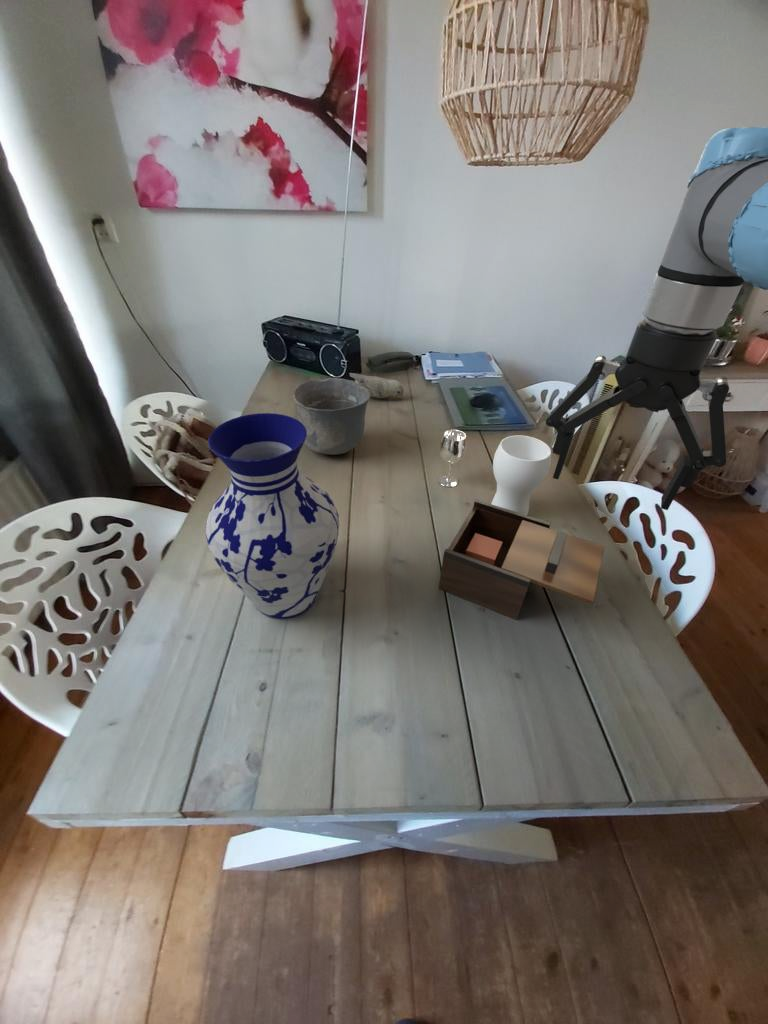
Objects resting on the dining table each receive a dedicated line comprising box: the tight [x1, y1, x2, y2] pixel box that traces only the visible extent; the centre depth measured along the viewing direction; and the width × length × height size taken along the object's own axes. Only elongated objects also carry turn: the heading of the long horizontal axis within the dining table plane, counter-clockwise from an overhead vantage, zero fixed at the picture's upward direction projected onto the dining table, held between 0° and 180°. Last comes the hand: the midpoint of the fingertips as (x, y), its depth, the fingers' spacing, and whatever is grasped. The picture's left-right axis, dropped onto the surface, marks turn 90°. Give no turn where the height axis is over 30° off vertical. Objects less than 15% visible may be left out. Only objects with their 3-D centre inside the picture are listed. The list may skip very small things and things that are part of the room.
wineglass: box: [438, 429, 468, 488], centre depth 96 cm, size 6×6×12 cm
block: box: [466, 533, 503, 566], centre depth 77 cm, size 5×5×5 cm
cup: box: [490, 434, 552, 516], centre depth 88 cm, size 11×11×15 cm
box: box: [438, 499, 552, 621], centre depth 76 cm, size 16×14×9 cm
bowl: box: [292, 377, 371, 456], centre depth 105 cm, size 18×18×15 cm
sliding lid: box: [501, 520, 605, 606], centre depth 69 cm, size 13×14×3 cm
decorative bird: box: [349, 372, 404, 401], centre depth 131 cm, size 5×16×7 cm, turn 85°
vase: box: [205, 412, 340, 619], centre depth 65 cm, size 19×19×30 cm
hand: (608, 488), depth 59 cm, fingers open, 13 cm apart
